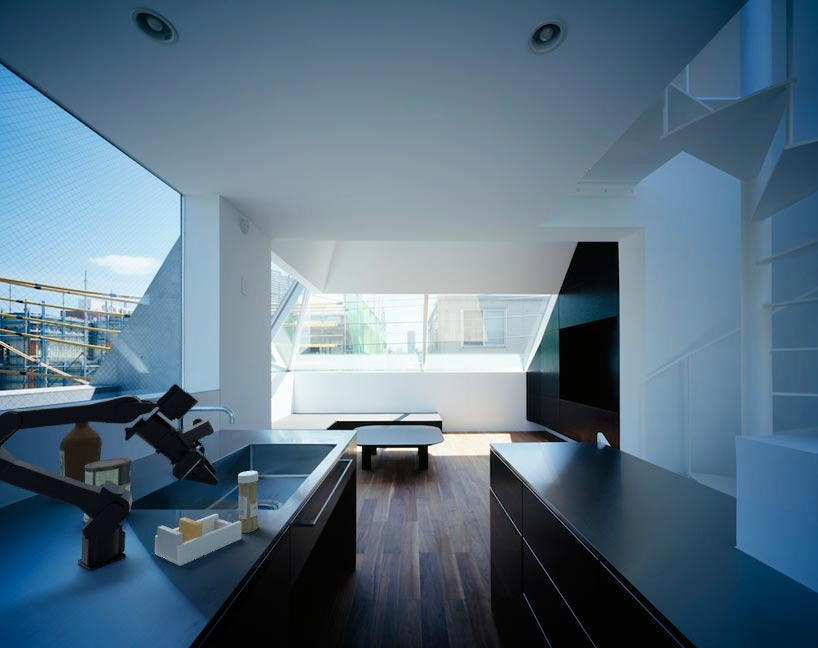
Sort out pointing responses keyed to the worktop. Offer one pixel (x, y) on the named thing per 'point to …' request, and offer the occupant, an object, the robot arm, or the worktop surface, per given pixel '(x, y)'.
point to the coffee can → (108, 473)
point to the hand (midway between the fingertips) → (216, 478)
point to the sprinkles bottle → (248, 501)
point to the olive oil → (79, 451)
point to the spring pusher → (189, 529)
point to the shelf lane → (196, 540)
